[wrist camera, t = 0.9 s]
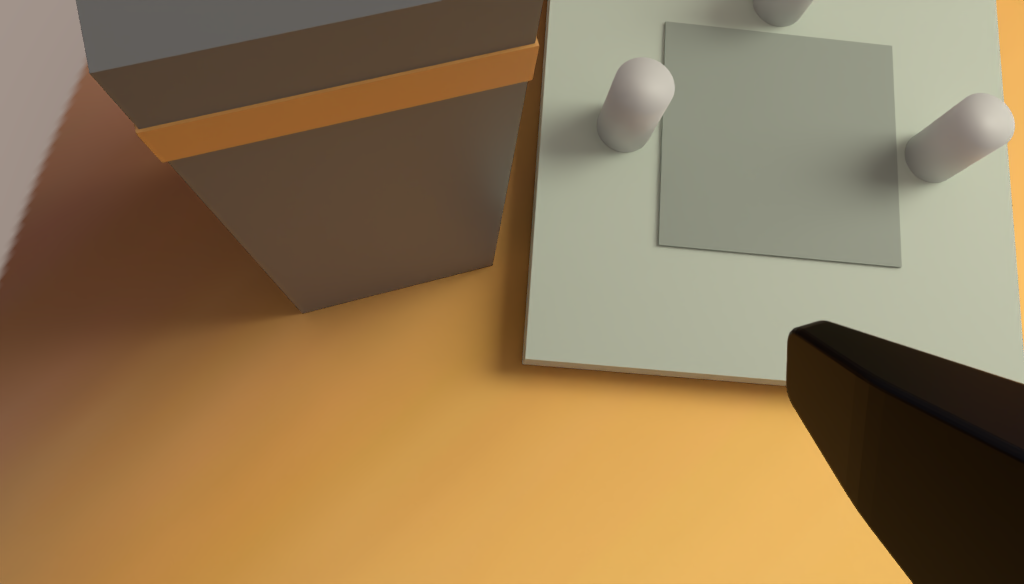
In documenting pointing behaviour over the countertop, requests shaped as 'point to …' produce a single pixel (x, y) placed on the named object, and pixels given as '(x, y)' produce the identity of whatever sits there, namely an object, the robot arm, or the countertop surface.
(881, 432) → the robot arm
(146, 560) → the countertop surface
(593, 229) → the board
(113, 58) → the plug block
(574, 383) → the countertop surface
